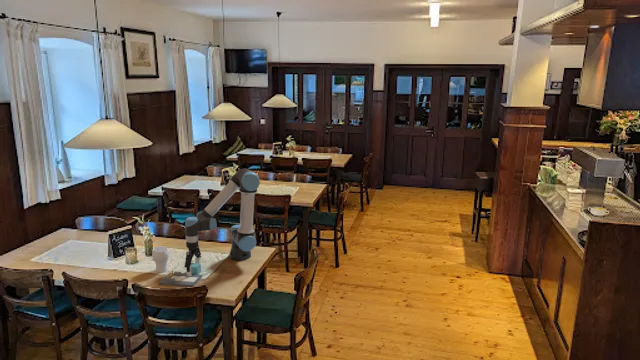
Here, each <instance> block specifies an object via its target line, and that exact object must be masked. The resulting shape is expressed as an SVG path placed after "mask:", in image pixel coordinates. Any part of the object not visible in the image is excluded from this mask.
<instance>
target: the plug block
mask: <svg viewBox="0 0 640 360" xmlns="http://www.w3.org/2000/svg"><path fill="white" fill-rule="evenodd" d="M201 265H202V264H201V262H200V263H196V262H191V265H190V266H191V274H195V275H201V273H202V266H201Z"/></svg>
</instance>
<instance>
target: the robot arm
mask: <svg viewBox="0 0 640 360" xmlns="http://www.w3.org/2000/svg"><path fill="white" fill-rule="evenodd" d="M260 184H261V181H260V177H259V176H258V173H256V172H254V171H252V170H250V169H249V168H241V169H239V170H237V172H235V173H234V174H233V175H232V176H231V177H230V178H229V181H228V183H227V184H226V185H225V186H224V187H223V188H222V189H221V190H220V191H219V193H218V194H217V195H216V196H215V197H214V198H213V199H212V200H211V201H210V202H209V204H208V205H207V206H206V207H205V208H204V209H203V210H202V211H198V213H196V216H189V217H187V218H185V220H184V221H185V222H184V223H185V224H184V228H185V229H184V230H185V241H186V242H185V244H186V245H185V246H186V248H187V249H188V251H186V253H185V262H184V268H186V274H187V276H191V266H190V265H191V263H192V262H193V261H192V260H193V258H194V257H195V259H194V260H195V262H194V263H201V260H200V259H201V258H202V253H201V250H200V246H199V233H200V232H205V231H206V232H207V231H213V230H216V229H217V226H218V223H217V220H216V218H215V217H214V216H215V215H216V214H217V212H218V211H220V209H221V208H222V207H223V205H225V204H226V203H227V202H228V200H229V199H231V198H232V196H233V195H234V194H235V193H236V192H237V191H238V190H239V191H238V192H240V193H241V195H240V213H239V214H240V216H239V224H234V225H232V226H231V227H230V239H231V240H230V241H231V248H230V250H229V258H230V259H231V260H234V261H244V260H247V259H250V258H251V257H252V250H253V249H255V247H256V245H257V240H256V237H255V236H256V235H255V233H256V232H255V229H254V227H253V226H254V214H255V213H254V212H255V209H254V208H255V194H256V193H257V192H258V188H260V187H259V186H260Z"/></svg>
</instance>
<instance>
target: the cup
mask: <svg viewBox="0 0 640 360" xmlns="http://www.w3.org/2000/svg"><path fill="white" fill-rule="evenodd" d="M151 257H152V260H153V261H154V262H155V272H156V273H160V274H161V273H165V272H167V271H168V270H169V267H168V260H169V257H170V251H169V248H168V246H166V245H165V246H164V245H162V246H161V245H160V246H156V247H154V248H153V249H152V252H151Z"/></svg>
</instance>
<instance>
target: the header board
mask: <svg viewBox="0 0 640 360" xmlns="http://www.w3.org/2000/svg"><path fill="white" fill-rule="evenodd" d="M202 277H203V274H199V275H195V274H191V276H187V273H182V271H174V270H173V269H172V270H171V272H169V273H167V274H166V275H165V277H163V278H162V279H161V280H160V281H159V282H158V284H159V285H162V286H163V285H164V286H177V287H178V286H179V287H188V288H193V287H194V286H195V285H197V283H198V282H199V281H200V280H201V279H202ZM192 286H193V287H192Z"/></svg>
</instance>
